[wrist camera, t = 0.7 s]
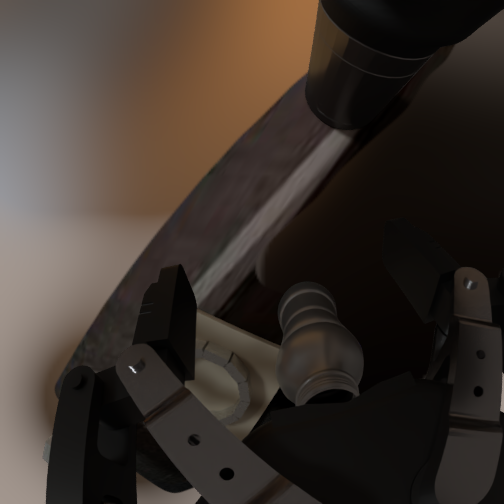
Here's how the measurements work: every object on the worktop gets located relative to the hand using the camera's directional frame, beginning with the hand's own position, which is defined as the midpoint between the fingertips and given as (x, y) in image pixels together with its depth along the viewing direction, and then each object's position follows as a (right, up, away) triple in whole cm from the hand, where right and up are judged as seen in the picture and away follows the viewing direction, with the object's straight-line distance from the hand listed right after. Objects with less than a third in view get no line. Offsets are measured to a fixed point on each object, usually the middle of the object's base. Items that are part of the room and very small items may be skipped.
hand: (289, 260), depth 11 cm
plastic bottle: (+5, -6, +22) cm, 24 cm away
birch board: (-8, -17, +25) cm, 31 cm away
